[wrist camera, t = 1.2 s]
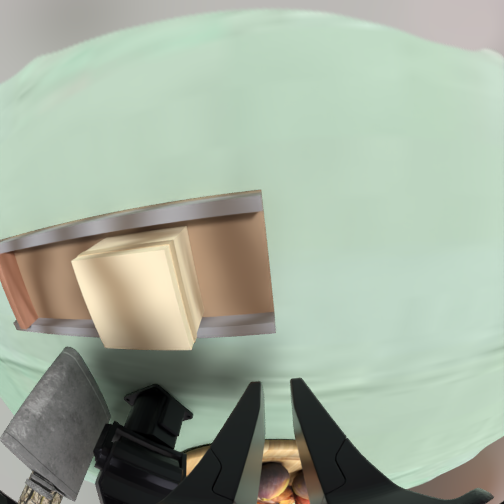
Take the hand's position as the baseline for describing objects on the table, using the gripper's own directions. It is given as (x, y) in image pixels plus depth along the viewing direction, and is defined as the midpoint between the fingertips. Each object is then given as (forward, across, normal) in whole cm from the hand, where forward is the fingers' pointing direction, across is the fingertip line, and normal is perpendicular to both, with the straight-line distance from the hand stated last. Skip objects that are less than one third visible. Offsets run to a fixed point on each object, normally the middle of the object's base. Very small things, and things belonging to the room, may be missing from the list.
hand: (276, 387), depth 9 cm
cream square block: (+12, +9, 0) cm, 15 cm away
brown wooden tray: (+13, +15, 0) cm, 20 cm away
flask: (+13, +25, +16) cm, 32 cm away
